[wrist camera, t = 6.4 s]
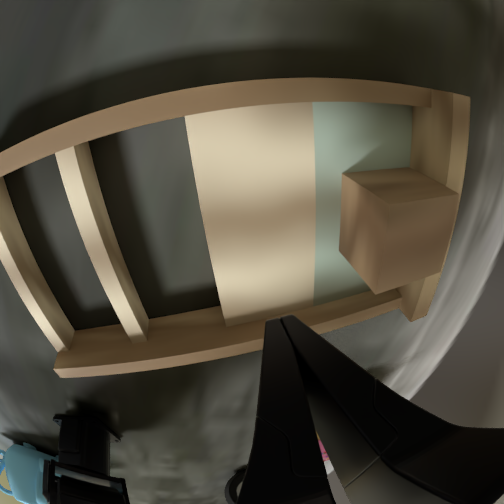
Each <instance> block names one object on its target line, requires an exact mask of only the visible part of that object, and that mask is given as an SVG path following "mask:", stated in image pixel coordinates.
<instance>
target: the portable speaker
mask: <svg viewBox="0 0 504 504" xmlns="http://www.w3.org/2000/svg"><path fill="white" fill-rule="evenodd" d="M245 472H246V470H245V471H241V472H239V473H237V474H235V475H234V476H233V477H232V478H231V479H230V480H229V481H228V482H227V484H226V487H225V498H226V501H227V502H228V504H236V502H237V499H238V495H239V492H240V489H241V486H242V482H243V479H244V476H245Z"/></svg>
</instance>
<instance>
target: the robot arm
mask: <svg viewBox="0 0 504 504" xmlns="http://www.w3.org/2000/svg"><path fill="white" fill-rule="evenodd" d="M256 416H257V417H256V422H255V431H254V438H253V444H252V449H251V453H250V457H249V461H248V465H247V469H246V472H245V476H244V479H243V482H242V486H241V489H240V492H239V495H238V499H237V502H236V504H336V502H335V500H334V498H333V495H332V492H331V489H330V485H329V482H328V479H327V473H326V469H325V465H324V461H323V457H322V453H321V449H320V445H319V441H318V437H317V434H318V436H319V438H320V440H321V442H322V444H323V447H324V449H325V451H326V453H327V455H328V457H329V459H330V461H331V463H332V465H333V468H334V470H335V472H336V474H337V476H338V478H339V479H340V482H341V484H342V486H343V488H344V490H345V492H346V494H347V496H348V499H349V501H350V503H351V504H504V428H475V427H463V426H458V425H455V424H452V423H449V422H447V421H445V420H443V419H441V418H439V417H437V416H436V415H434V414H432V413H430V412H428V411H426V410H424V409H423V408H421V407H419V406H417V405H415V404H413V403H412V402H410V401H409V400H407V399H405V398H404V397H402V396H400V395H399V394H397V393H396V392H394V391H393V390H391V389H390V388H389V387H387V386H386V385H384V384H383V383H382V382H380V381H379V380H378V379H375V377H374V376H372V375H371V374H370V373H368V372H367V371H366V370H364V369H363V368H362V367H360V366H359V365H358V364H356V363H355V362H354V361H353V360H351V359H350V358H349V357H347V356H346V355H345V354H343V353H342V352H341V351H339V350H338V349H337V348H336V347H334V346H333V345H332V344H330V343H329V342H328V341H326V340H325V339H324V338H323V337H321V336H320V335H319V334H317V333H316V332H315V331H314V330H312V329H311V328H310V327H308V326H307V325H306V324H305V323H303V322H302V321H301V320H300V319H298V318H297V317H296V316H294V315H293V314H289V315H285V316H281V317H280V318H273V319H269V320H266V322H265V331H264V342H263V353H262V364H261V374H260V385H259V395H258V404H257V414H256ZM53 421H54V422H56V423H57V424H58V425H59V426H60V434H59V443H58V450H59V457H58V462H57V461H56V460H54V459H51V460H44V465H43V482H42V495H43V496H44V497H45V498H46V500H47V503H48V504H130V502H129V498H128V493H127V488H126V482H125V479H124V478H116V477H111V476H110V442H121V439H120V438H119V437H118V436H117V435H116V434H115V433H113V432H112V431H111V430H110V429H109V428H108V427H106V426H105V425H104V424H103V423H102V422H101V421H100V420H99V419H97V418H95V417H57V416H54V417H53ZM316 432H317V433H316ZM55 473H57V474H60V475H61V476H60V477H59V476H55Z"/></svg>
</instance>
